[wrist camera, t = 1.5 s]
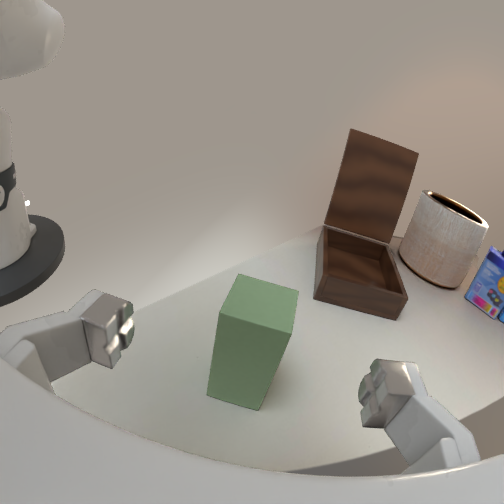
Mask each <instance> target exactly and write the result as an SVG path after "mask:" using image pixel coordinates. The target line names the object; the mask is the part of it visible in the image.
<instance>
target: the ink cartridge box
mask: <svg viewBox="0 0 504 504" xmlns="http://www.w3.org/2000/svg"><path fill="white" fill-rule="evenodd" d="M465 298H466V299H468V300H469V301H470V302H472V303H473V304H474V305H476V306H477V307H478V308H480V309H481V310H482V311H484V312H485V313H486V314H487V315H489V316H490V317H491V318H492V319H496V317H497V315H498V314H499V312H500V311H501V309H502V308H503V306H504V251H503V252H500V251H499V250H497V249H496V248H494V247H493V246H491V247H490V249H489V251H488V253H487V255H486V257H485V259H484V260H483V262H482V264H481V266H480V268H479V270H478V272H477V274H476V275H475V277H474V279H473V281H472V283H471V285H470V287H469V289H468V291H467V293H466V294H465Z"/></svg>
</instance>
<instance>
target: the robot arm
mask: <svg viewBox="0 0 504 504" xmlns="http://www.w3.org/2000/svg"><path fill="white" fill-rule="evenodd" d="M64 33H65V26H64V21H63V18H62V16H61V15H60V13H59V12H58V11H57V10H55V9H54V8H52V7H51V6H49V5H48V4H46V3H45V2H44V1H43V0H0V80H2V79H7V78H11V77H17V76H21V75H24V74H27V73H30V72H32V71H36V70H39V69H41V68H44V67H46V66H47V65H49V64H50V62H51V61H52V60H53V59H54V58H55V56H56V55H57V53H58V52H59V50H60V48H61V45H62V43H63V39H64ZM15 185H16V171H15V166H14V163H13V162H12V149H11V119H10V117H9V115H8V113H7V112H6V111H5V110H4V109H3V108H1V107H0V269H2V268H5V267H7V266H9V265H10V264H12V263H14V262H15V261H17V260H18V259H19V258H20V257H21V256H23V255H24V253H25V252H26V251H27V250H28V248H29V246H30V242H31V238H32V236H33V235H34V234H35V233H36V231H37V229H36V226H35V225H34V224H32V223H29V219H28V214H27V209H26V206H27V205H29V204H30V203H29V201H26V202H25V199H24V194H23V192H22V191H21V190H19V189H17V188H16V187H15ZM133 313H134V312H133V304H132V303H131V302H129V301H126V300H123V299H120V298H118V297H115V296H113V295H110V294H107V293H104V292H101V291H99V290H96V289H94V290H91V291H90V292H89V293H87V294H86V295H85V296H84V297H83V298H82V299H81V300H80V301H79V302H78V303H77V304H75V305H74V306H73V307H72V308H71V309H70V310H69V311H68V312H67V313H66V312H64V311H62V312H59V313H55V314H51V315H47V316H44V317H40V318H36V319H33V320H29V321H26V322H21V323H18V324H14V325H10V326H8V327H7V328H5V330H3V331H2V332H1V333H0V504H504V454H501V455H498V456H495V457H492V458H488V459H484V460H481V459H480V455H479V452H478V449H477V446H476V443H475V440H474V437H473V434H472V433H471V432H470V431H469V430H468V429H467V428H466V427H465V426H464V425H462V424H461V423H460V422H459V421H458V420H457V419H456V418H455V417H454V416H453V415H452V414H451V413H450V412H449V411H448V410H446V409H445V408H444V407H443V406H442V405H441V404H440V403H439V402H438V401H437V400H436V399H435V398H433V397H432V396H428V393H427V391H426V388H425V385H424V382H423V380H422V377H421V375H420V372H419V369H418V367H417V365H416V364H415V363H414V362H404V361H402V362H400V361H392V360H383V359H376V360H374V361H373V363H372V364H371V366H370V369H371V372H370V373H369V374H367V375H365V376H364V378H363V379H362V381H361V383H360V387H359V392H358V398H359V402H360V403H361V404H362V406H363V407H364V408H363V409H362V410H361V419H362V426H363V427H367V428H384V430H385V432H386V433H387V435H388V436H389V437H390V439H391V440H392V442H393V443H394V445H395V446H396V447H397V449H398V450H399V452H400V453H401V454H402V456H403V457H404V459H405V460H406V462H407V463H408V464H409V467H408V468H407V469H406V470H405V471H403V472H402V473H401V474H400V475H388V476H366V477H340V476H339V477H338V476H317V475H303V474H293V473H285V472H277V471H270V470H263V469H257V468H252V467H246V466H241V465H236V464H231V463H227V462H222V461H218V460H214V459H210V458H206V457H202V456H199V455H195V454H191V453H188V452H185V451H181V450H178V449H175V448H172V447H169V446H166V445H163V444H160V443H157V442H154V441H152V440H149V439H146V438H144V437H141V436H138V435H136V434H133V433H131V432H129V431H126V430H124V429H122V428H119V427H117V426H115V425H112V424H110V423H108V422H106V421H104V420H102V419H100V418H97V417H95V416H93V415H91V414H89V413H87V412H85V411H84V410H82V409H80V408H78V407H76V406H74V405H72V404H70V403H69V402H67V401H65V400H63V399H62V398H60V397H58V396H57V395H55V392H54V390H53V388H52V386H51V384H50V382H52V381H54V380H56V379H58V378H60V377H62V376H64V375H66V374H68V373H70V372H72V371H74V370H76V369H78V368H80V367H82V366H84V365H86V364H88V363H90V362H91V361H93V362H95V363H98V364H100V365H103V366H105V367H108V368H110V369H113V368H114V366H115V365H116V363H117V362H118V360H119V359H120V358H121V352H120V351H121V350H124V349H126V348H128V346H129V345H130V343H131V341H132V338H133V336H134V322H133V320H132V319H131V317H130V316H131V315H132V314H133Z"/></svg>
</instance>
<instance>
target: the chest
mask: <svg viewBox="0 0 504 504" xmlns="http://www.w3.org/2000/svg"><path fill="white" fill-rule="evenodd" d="M313 299H316V300H319V301H323V302H327V303H331V304H334V305H338V306H342V307H345V308H349V309H353V310H357V311H361V312H364V313H368V314H372V315H376V316H380V317H384V318H388V319H392V320H396V319H397V318H398V316H399V314H400V313H401V311H402V309H403V307H404V306H405V304H406V302H407V300H408V296H407V293H406V290H405V288H404V285H403V282H402V280H401V277H400V274H399V272H398V269H397V266H396V264H395V261H394V259H393V256H392V254H391V252H390V249H389V247H388V245H385V244H382V243H379V242H376V241H373V240H370V239H366V238H363V237H360V236H357V235H353V234H350V233H347V232H344V231H340V230H337V229H334V228H330V227H327V226H323V228H322V231H321V234H320V237H319V240H318V243H317V254H316V270H315V284H314V296H313Z"/></svg>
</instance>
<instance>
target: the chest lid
mask: <svg viewBox="0 0 504 504" xmlns="http://www.w3.org/2000/svg"><path fill="white" fill-rule="evenodd" d="M418 155H419V154H418V153H416V152H414V151H412V150H409V149H406V148H404V147H402V146H399V145H397V144H394V143H391V142H388V141H386V140H383V139H380V138H378V137H375V136H372V135H369V134H366V133H363V132H360V131H357V130H354V129H350V132H349V136H348V140H347V144H346V147H345V151H344V155H343V159H342V162H341V166H340V170H339V173H338V177H337V180H336V184H335V187H334V191H333V195H332V198H331V201H330V205H329V208H328V211H327V215H326V218H325V221H324V224H327V225H330V226H334V227H337V228H340V229H344V230H347V231H350V232H354V233H357V234H360V235H363V236H366V237H370V238H373V239H376V240H379V241H382V242H385V243H388V244H389V243H390V241H391V238H392V235H393V232H394V230H395V227H396V224H397V221H398V219H399V216H400V213H401V210H402V207H403V204H404V201H405V198H406V195H407V192H408V189H409V186H410V183H411V179H412V176H413V172H414V169H415V166H416V162H417V158H418Z"/></svg>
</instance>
